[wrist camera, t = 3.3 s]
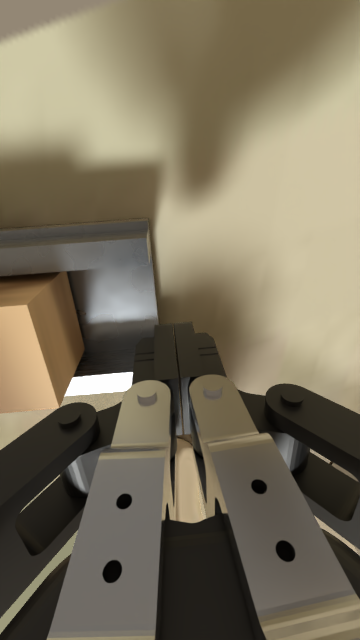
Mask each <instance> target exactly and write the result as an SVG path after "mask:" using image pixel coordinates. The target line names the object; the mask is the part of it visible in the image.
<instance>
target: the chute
mask: <svg viewBox="0 0 360 640" xmlns="http://www.w3.org/2000/svg"><path fill="white" fill-rule="evenodd" d="M62 271H66V272H67V276H68V280H69V285H70V289H71V293H72V297H73V301H74V306H75V310H76V314H77V318H78V322H79V327H80V331H81V335H82V339H83V343H84V348H85V350H84V352H83V355H82V357H81V359H80V362H79V364H78V366H77V368H76V371H75V373H74V375H73V378H72V380H71V382H70V385H69V387H68V389H67V391H66V394H65V396H72V395H83V394H95V393H106V392H117V391H127V389H128V388H130V387H131V384H132V375H133V366H134V357H135V349H136V345H137V344H138V342H139V341H140V340H141V339H142V338H150V337H154V325H159V318H158V308H157V298H156V289H155V279H154V269H153V260H152V250H151V240H150V231H149V221H148V218H144V219H131V220H117V221H103V222H89V223H75V224H61V225H47V226H34V227H20V228H6V229H0V276H10V275H23V274H36V273H49V272H62Z"/></svg>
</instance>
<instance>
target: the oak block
mask: <svg viewBox="0 0 360 640" xmlns="http://www.w3.org/2000/svg"><path fill="white" fill-rule="evenodd" d="M84 350H85V348H84V343H83V339H82V335H81V331H80V327H79V322H78V318H77V314H76V310H75V306H74V301H73V297H72V293H71V289H70V285H69V280H68V276H67V272H66V271H62V272H49V273H36V274H23V275H10V276H0V413H10V412H21V411H33V410H44V409H55V408H60V405H61V403H62V401H63V398H64V396H65V394H66V391H67V389H68V387H69V385H70V382H71V380H72V378H73V375H74V373H75V371H76V368H77V366H78V364H79V362H80V359H81V357H82V355H83V352H84Z"/></svg>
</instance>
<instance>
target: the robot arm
mask: <svg viewBox="0 0 360 640" xmlns="http://www.w3.org/2000/svg"><path fill="white" fill-rule="evenodd" d="M174 334H175V344H174V335H173V326H172V324H160V325H154V337H150V338H142V339H141V340H140V341H139V342H138V344H137V345H136V349H135V357H134V366H133V375H132V384H131V387H130V388H128V389H127V391H126V392H125V394H124V396H123V400H122V402H120V403H119V404H117V405H115V406H113V407H110V408H107V409H104V410H101V411H98V412H96V410H95V408H94V407H93V406H91V405H90V404H87V403H82V402H78V403H71V404H67V405H65V406H62V407H60V408H58V409H57V410H55V411H54V412H52V413H51V414H50V415H48V416H47V417H46V418H44V419H43V420H41V421H40V422H39V423H37V424H36V425H35V426H33V427H32V428H30V429H29V430H28V431H26V432H25V433H24V434H22V435H21V436H19V437H18V438H17V439H15V440H14V441H13V442H11V443H10V444H8V445H7V446H6V447H4V448H3V449H2V450H0V618H1V616H3V614H4V613H5V612H6V611H7V610H8V609H9V608H10V606H11V605H12V604H13V603H14V602H15V601H16V599H17V598H18V597H19V596H20V595H21V594H22V593H23V592H24V590H25V589H26V588H27V587H28V586H29V585H30V584H31V583H32V581H33V580H34V579H35V578H36V577H37V576H38V575H39V573H40V572H41V571H42V570H43V569H44V568H45V566H46V565H47V564H48V563H49V562H50V561H51V560H52V558H53V557H54V556H55V555H56V554H57V553H58V552H59V551H60V549H61V548H62V547H63V546H64V545H65V544H66V543H67V541H68V540H69V539H70V538H71V537H72V536H73V534H74V533H75V532H76V531H77V530H78V533H77V536H76V540H75V543H74V547H73V550H72V553H71V554H70V555H69V556H68V557H67V558H66V559H65V560H63V561H62V562H61V563H60V564H59V565H58V566H57V567H56V568H55V569H54V570H53V571H52V572H51V573H50V574H49V575H48V576H47V578H46V579H45V580H44V581H43V582H42V584H41V585H40V586H39V587H38V588H37V590H36V591H35V592H34V593H33V595H32V596H31V597H30V598H29V600H28V601H27V602H26V603H25V604H24V606H23V607H22V608H21V610H20V611H19V612H18V613H17V614H16V616H15V617H14V618H13V619H12V621H11V622H10V623H9V624H8V625H7V627H6V628H5V629H4V630H3V632H2V633H1V634H0V640H360V414H358V413H355V412H353V411H351V410H349V409H347V408H345V407H343V406H341V405H339V404H337V403H335V402H332V401H330V400H328V399H326V398H324V397H322V396H320V395H318V394H316V393H314V392H311V391H309V390H307V389H305V388H303V387H301V386H298V385H293V384H278V385H275V386H272V387H271V388H269V389H268V391H267V392H266V396H263V395H256V394H250V393H245V392H242V391H240V390H238V389H237V388H236V386H235V384H234V383H233V382H232V381H231V380H230V379H228V378H227V376H226V374H225V371H224V368H223V365H222V362H221V359H220V356H219V355H218V351H217V348H216V345H215V342H214V339H213V338H212V337H211V336H209V335H208V334H207V333H196V334H195V333H194V329H193V325H192V322H183V323H174ZM175 348H176V353H175ZM176 361H177V362H176ZM178 380H179V382H178ZM179 390H180V395H179ZM180 399H181V408H182V417H183V426H184V435H185V434H191V438H192V449H193V458H194V463H195V468H196V472H197V477H198V481H199V486H200V490H201V495H202V499H203V504H204V508H205V513H206V519H204V520H202V521H200V522H197V523H187V522H181V521H176V451H177V435H182V422H181V408H180ZM310 448H311V449H312V450H314V451H315V452H317V453H319V454H320V455H322V456H324V457H325V458H327V459H328V460H330V461H332V462H333V464H332V465H330V464H328V463H327V462H325V461H324V460H322V459H320V458H319V457H317V456H316V455H314V454H312V453H311V452H310ZM59 474H60V476H59V477H58V478H57V479H56V480H55V481H54V482H53V483H52V484H51V485H50V486H49V487H48V488H47V489H45V490H44V491H43V492H42V493H41V494H40V495H39V496H38V497H37V498H36V499H35V500H34V501H32V503H30V504H29V505H28V506H27V507H26V508H25V509H24V510H23V511H22V512H21V510H22V509H23V508H24V507H25V506H26V505H27V504H28V503H29V502H30V501H31V500H32V499H33V498H34V497H35V496H36V495H38V494H39V493H40V492H41V491H42V490H43V489H44V488H45V487H46V486H47V485H49V484H50V483H51V482H52V481H53V480H54V479H55V478H56V477H57V476H58V475H59ZM20 512H21V513H20ZM19 513H20V514H19ZM314 515H315V516H316V517H317V518H319V519H320V520H321V521H322V522H324V523H325V524H326V525H328V526H329V527H330V528H332V529H333V530H334V531H336V532H337V533H338V534H339V535H341V536H342V537H343V538H345V539H346V540H347V541H349V542H350V543H351V544H353V545H354V547H355V549H356V551H357V553H358V554H357V553H356V552H354V551H353V550H352V549H351V548H349V547H348V546H347V545H346V544H344V543H343V542H342V541H341V540H339V539H338V538H336V537H335V536H333V535H332V534H330V533H329V532H327V531H325V530H323V529H321V528H320V526H319V524H318V522H317V520H316V519H315V517H314Z"/></svg>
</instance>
